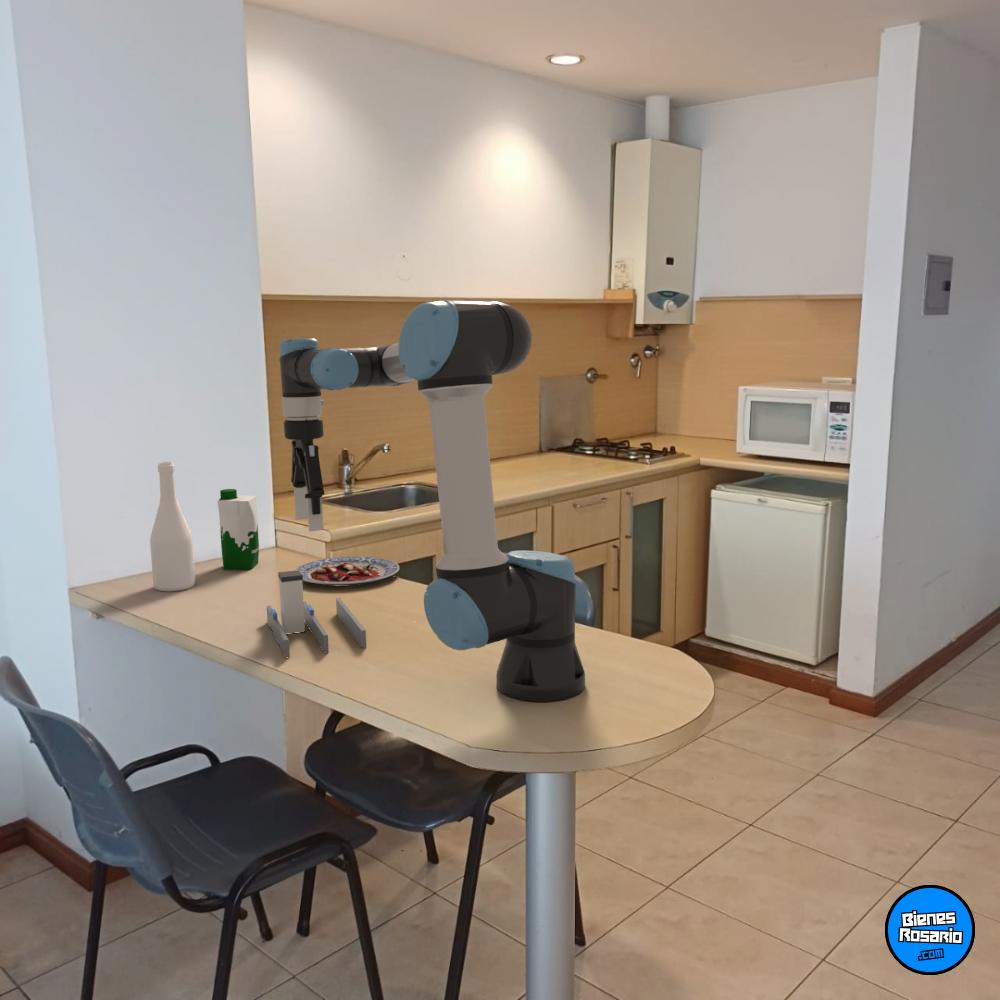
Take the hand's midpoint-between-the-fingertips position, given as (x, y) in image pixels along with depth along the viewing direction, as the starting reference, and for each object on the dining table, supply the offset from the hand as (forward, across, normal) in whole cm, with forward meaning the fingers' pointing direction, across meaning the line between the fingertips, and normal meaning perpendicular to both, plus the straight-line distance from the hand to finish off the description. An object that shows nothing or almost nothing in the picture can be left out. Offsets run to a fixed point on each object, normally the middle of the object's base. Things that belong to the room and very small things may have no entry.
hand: (309, 524), depth 193 cm
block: (+22, +1, +4) cm, 22 cm away
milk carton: (+21, +60, +6) cm, 64 cm away
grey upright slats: (+22, -3, +1) cm, 22 cm away
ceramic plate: (+22, +39, -16) cm, 47 cm away
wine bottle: (+21, +47, +24) cm, 57 cm away
